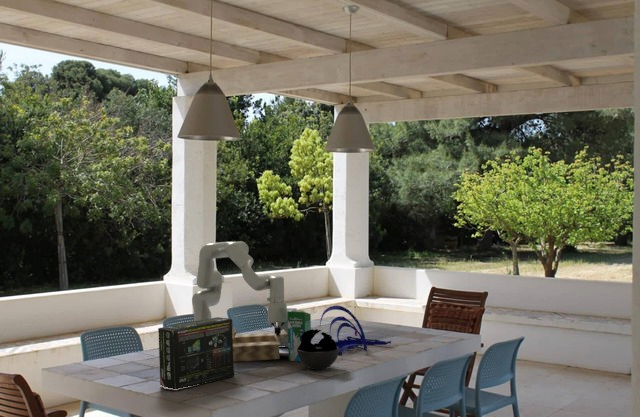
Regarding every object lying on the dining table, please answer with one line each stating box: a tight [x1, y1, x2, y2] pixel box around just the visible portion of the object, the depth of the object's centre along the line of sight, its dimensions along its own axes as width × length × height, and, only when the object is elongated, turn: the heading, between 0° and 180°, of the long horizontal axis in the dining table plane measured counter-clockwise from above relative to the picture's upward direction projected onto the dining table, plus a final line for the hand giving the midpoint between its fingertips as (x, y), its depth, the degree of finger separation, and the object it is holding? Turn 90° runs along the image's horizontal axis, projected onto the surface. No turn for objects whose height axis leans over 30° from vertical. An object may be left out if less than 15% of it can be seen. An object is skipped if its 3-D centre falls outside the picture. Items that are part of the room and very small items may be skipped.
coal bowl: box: [297, 328, 340, 371], centre depth 356 cm, size 20×20×19 cm
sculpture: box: [319, 305, 392, 356], centre depth 405 cm, size 35×34×26 cm
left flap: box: [232, 325, 237, 341], centre depth 385 cm, size 1×17×6 cm, turn 11°
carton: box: [233, 332, 281, 363], centre depth 387 cm, size 24×32×9 cm
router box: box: [157, 316, 235, 389], centre depth 335 cm, size 36×11×27 cm, turn 140°
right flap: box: [274, 329, 288, 340], centre depth 390 cm, size 1×17×6 cm
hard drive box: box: [276, 307, 298, 347], centre depth 416 cm, size 16×8×20 cm, turn 168°
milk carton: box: [287, 309, 312, 362], centre depth 379 cm, size 9×9×25 cm
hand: (277, 335), depth 390 cm, fingers closed
